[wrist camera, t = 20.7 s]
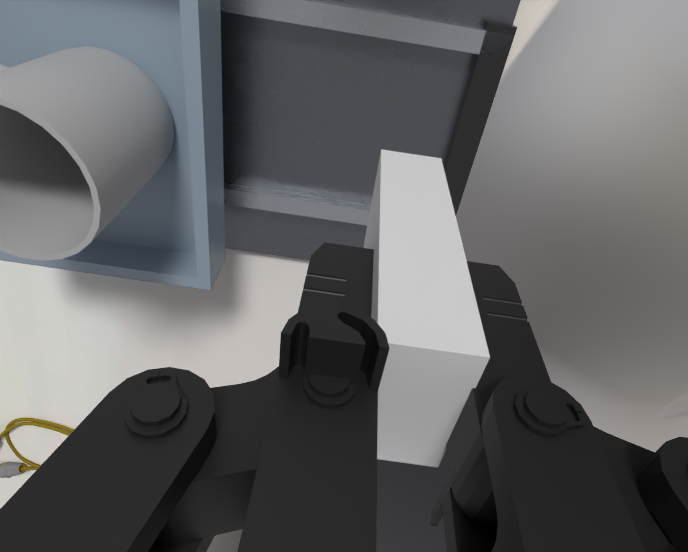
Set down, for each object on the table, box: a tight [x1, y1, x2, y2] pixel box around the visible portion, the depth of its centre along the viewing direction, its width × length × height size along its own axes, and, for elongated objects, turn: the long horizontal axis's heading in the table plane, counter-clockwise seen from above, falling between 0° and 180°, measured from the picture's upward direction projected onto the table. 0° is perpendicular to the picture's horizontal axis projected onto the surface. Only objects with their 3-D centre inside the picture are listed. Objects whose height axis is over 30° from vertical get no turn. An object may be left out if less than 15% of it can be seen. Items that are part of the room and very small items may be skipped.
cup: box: [0, 46, 174, 261], centre depth 21 cm, size 7×10×9 cm
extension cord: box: [0, 418, 74, 478], centre depth 55 cm, size 12×16×2 cm
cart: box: [0, 0, 225, 290], centre depth 25 cm, size 15×19×6 cm
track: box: [220, 0, 520, 260], centre depth 29 cm, size 30×22×2 cm
